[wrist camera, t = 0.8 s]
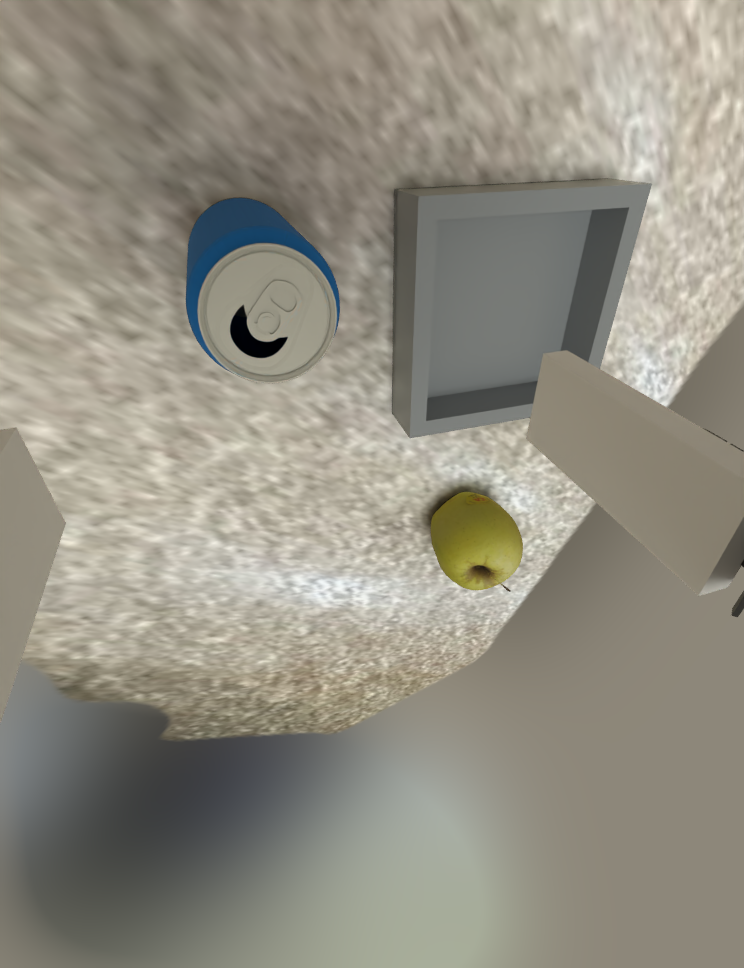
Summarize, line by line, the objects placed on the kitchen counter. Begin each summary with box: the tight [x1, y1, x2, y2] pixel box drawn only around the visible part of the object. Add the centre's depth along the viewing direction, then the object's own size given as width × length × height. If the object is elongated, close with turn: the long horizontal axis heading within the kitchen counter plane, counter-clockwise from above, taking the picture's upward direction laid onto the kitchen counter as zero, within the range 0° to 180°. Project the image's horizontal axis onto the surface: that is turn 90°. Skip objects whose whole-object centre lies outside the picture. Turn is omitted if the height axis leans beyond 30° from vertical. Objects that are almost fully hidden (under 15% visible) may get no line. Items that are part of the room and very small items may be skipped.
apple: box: [431, 492, 523, 592], centre depth 43 cm, size 8×8×10 cm
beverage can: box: [186, 198, 340, 383], centre depth 24 cm, size 6×6×12 cm
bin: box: [392, 179, 652, 438], centre depth 34 cm, size 15×15×4 cm
